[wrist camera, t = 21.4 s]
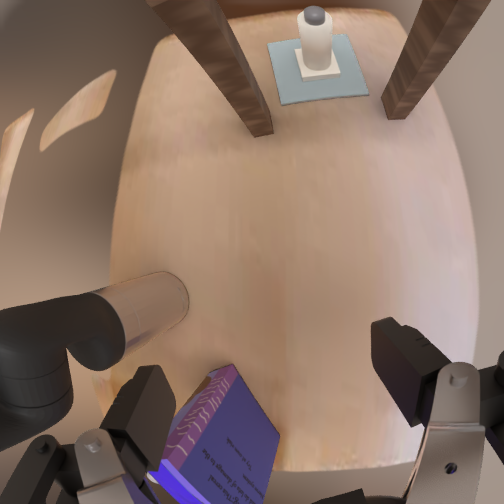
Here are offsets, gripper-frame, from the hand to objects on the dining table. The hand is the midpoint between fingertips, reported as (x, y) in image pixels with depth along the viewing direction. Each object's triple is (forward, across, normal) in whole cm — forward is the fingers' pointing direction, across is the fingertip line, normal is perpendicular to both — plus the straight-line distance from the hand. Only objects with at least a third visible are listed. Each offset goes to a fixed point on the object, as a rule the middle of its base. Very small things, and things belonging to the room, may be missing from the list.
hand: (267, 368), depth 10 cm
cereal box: (+29, +7, +29) cm, 42 cm away
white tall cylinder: (+34, -16, -24) cm, 44 cm away
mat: (+34, -16, -24) cm, 45 cm away
